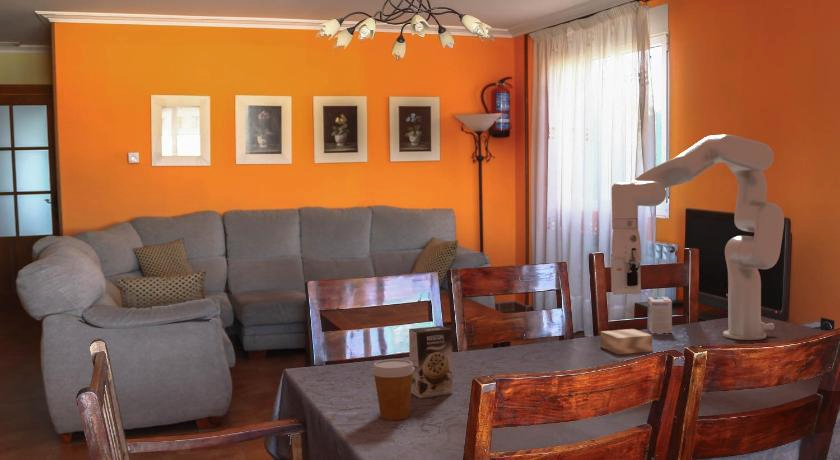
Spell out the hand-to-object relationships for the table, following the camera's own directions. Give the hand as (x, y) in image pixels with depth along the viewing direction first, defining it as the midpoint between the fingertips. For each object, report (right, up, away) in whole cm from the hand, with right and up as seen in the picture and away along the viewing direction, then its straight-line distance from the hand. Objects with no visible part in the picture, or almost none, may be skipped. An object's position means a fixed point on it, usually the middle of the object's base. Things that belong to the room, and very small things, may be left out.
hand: (625, 283), depth 250 cm
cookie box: (-58, -24, -43) cm, 76 cm away
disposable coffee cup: (-67, -26, -61) cm, 94 cm away
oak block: (0, -20, +1) cm, 20 cm away
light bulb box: (+18, -18, +26) cm, 36 cm away
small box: (0, -3, 0) cm, 3 cm away
